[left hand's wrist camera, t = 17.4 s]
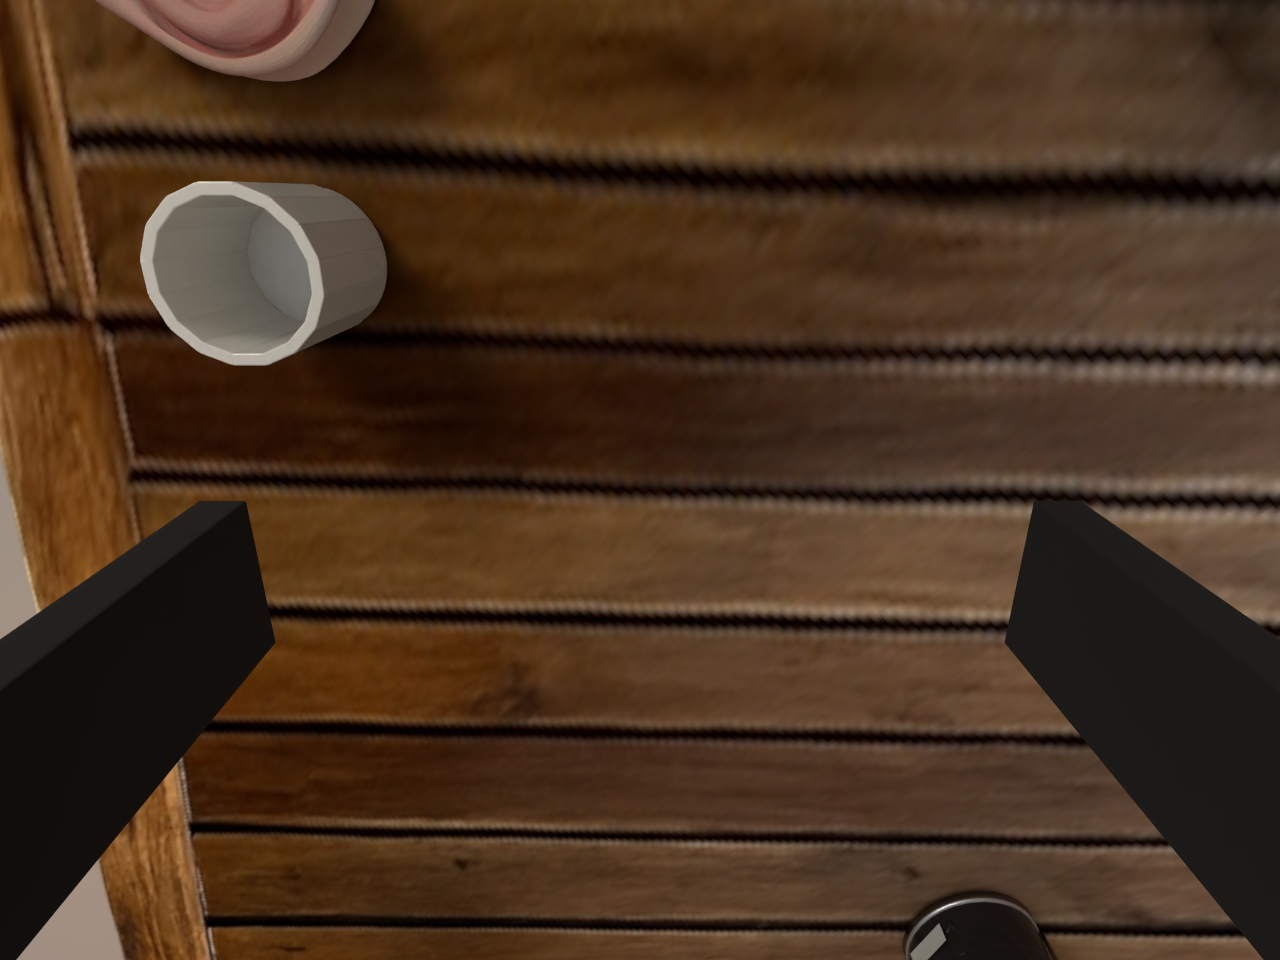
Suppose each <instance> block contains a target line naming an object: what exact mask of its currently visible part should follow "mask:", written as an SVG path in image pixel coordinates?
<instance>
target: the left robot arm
mask: <svg viewBox="0 0 1280 960" xmlns="http://www.w3.org/2000/svg"><path fill="white" fill-rule="evenodd" d="M274 643H275V638H274V634H273V629H272V624H271V619H270V614H269V610H268V605H267V600H266V595H265V591H264V586H263V581H262V576H261V571H260V567H259V562H258V557H257V552H256V547H255V543H254V538H253V533H252V528H251V524H250V519H249V514H248V509H247V504H246V501H199V502H198V503H196V504H195V505H193V506H192V507H191V508H189V509H188V510H186V511H185V512H183V513H182V514H180V515H179V516H178V517H176V518H175V519H173V520H172V521H170V522H169V523H167V524H166V525H165V526H163V527H162V528H160V529H159V530H157V531H156V532H155V533H153V534H152V535H150V536H149V537H147V538H146V539H144V540H143V541H142V542H140V543H139V544H137V545H136V546H134V547H133V548H131V549H130V550H129V551H127V552H126V553H124V554H123V555H121V556H120V557H118V558H117V559H116V560H114V561H113V562H111V563H110V564H108V565H107V566H105V567H104V568H103V569H101V570H100V571H98V572H97V573H95V574H94V575H92V576H91V577H90V578H88V579H87V580H85V581H84V582H82V583H81V584H79V585H78V586H77V587H75V588H74V589H72V590H71V591H69V592H68V593H66V594H65V595H64V596H62V597H61V598H59V599H58V600H56V601H55V602H54V603H52V604H51V605H49V606H48V607H46V608H45V609H43V610H42V611H41V612H39V613H38V614H36V615H35V616H33V617H32V618H30V619H29V620H28V621H26V622H25V623H23V624H22V625H20V626H19V627H17V628H16V629H15V630H13V631H12V632H10V633H9V634H7V635H6V636H4V637H3V638H2V639H0V960H16V959H17V958H18V957H19V956H20V954H21V953H22V952H23V951H24V950H25V948H26V947H27V946H28V945H29V943H30V942H31V941H32V940H33V938H34V937H35V936H36V935H37V934H38V932H39V931H40V930H41V929H42V928H43V926H44V925H45V924H46V923H47V921H48V920H49V919H50V918H51V916H52V915H53V914H54V913H55V912H56V910H57V909H58V908H59V907H60V905H61V904H62V903H63V902H64V901H65V899H66V898H67V897H68V896H69V894H70V893H71V892H72V891H73V890H74V888H75V887H76V886H77V885H78V883H79V882H80V881H81V880H82V879H83V877H84V876H85V875H86V874H87V872H88V871H89V870H90V869H91V868H92V866H93V865H94V864H95V863H96V861H97V860H98V859H99V858H100V857H101V855H102V854H103V853H104V852H105V850H106V849H107V848H108V847H109V845H110V844H111V843H112V842H113V841H114V839H115V838H116V837H117V836H118V834H119V833H120V832H121V831H122V830H123V828H124V827H125V826H126V825H127V823H128V822H129V821H130V820H131V819H132V817H133V816H134V815H135V814H136V812H137V811H138V810H139V809H140V808H141V806H142V805H143V804H144V803H145V801H146V800H147V799H148V798H149V797H150V795H151V794H152V793H153V792H154V790H155V789H156V788H157V787H158V786H159V784H160V783H161V782H162V781H163V779H164V778H165V777H166V776H167V774H168V773H169V772H170V771H171V770H172V768H173V767H174V766H175V765H176V763H177V762H178V761H179V760H180V759H181V757H182V756H183V755H184V754H185V752H186V751H187V750H188V749H189V748H190V746H191V745H192V744H193V743H194V741H195V740H196V739H197V738H198V737H199V735H200V734H201V733H202V732H203V730H204V729H205V728H206V727H207V726H208V724H209V723H210V722H211V721H212V719H213V718H214V717H215V716H216V715H217V713H218V712H219V711H220V710H221V708H222V707H223V706H224V705H225V703H226V702H227V701H228V700H229V699H230V697H231V696H232V695H233V694H234V692H235V691H236V690H237V689H238V688H239V686H240V685H241V684H242V683H243V681H244V680H245V679H246V678H247V677H248V675H249V674H250V673H251V672H252V670H253V669H254V668H255V667H256V666H257V664H258V663H259V662H260V661H261V659H262V658H263V657H264V656H265V655H266V653H267V652H268V651H269V650H270V648H271V647H272V646H273V645H274ZM1005 643H1006V645H1007V646H1008V647H1009V648H1010V650H1011V651H1012V652H1013V653H1014V655H1015V656H1016V657H1017V658H1018V659H1019V661H1020V662H1021V663H1022V664H1023V666H1024V667H1025V668H1026V669H1027V670H1028V672H1029V673H1030V674H1031V675H1032V677H1033V678H1034V679H1035V680H1036V681H1037V683H1038V684H1039V685H1040V686H1041V688H1042V689H1043V690H1044V691H1045V692H1046V694H1047V695H1048V696H1049V697H1050V699H1051V700H1052V701H1053V702H1054V703H1055V705H1056V706H1057V707H1058V708H1059V710H1060V711H1061V712H1062V713H1063V715H1064V716H1065V717H1066V718H1067V719H1068V721H1069V722H1070V723H1071V724H1072V726H1073V727H1074V728H1075V729H1076V730H1077V732H1078V733H1079V734H1080V735H1081V737H1082V738H1083V739H1084V740H1085V741H1086V743H1087V744H1088V745H1089V746H1090V748H1091V749H1092V750H1093V751H1094V752H1095V754H1096V755H1097V756H1098V757H1099V759H1100V760H1101V761H1102V762H1103V763H1104V765H1105V766H1106V767H1107V768H1108V770H1109V771H1110V772H1111V773H1112V774H1113V776H1114V777H1115V778H1116V779H1117V781H1118V782H1119V783H1120V784H1121V786H1122V787H1123V788H1124V789H1125V790H1126V792H1127V793H1128V794H1129V795H1130V797H1131V798H1132V799H1133V800H1134V801H1135V803H1136V804H1137V805H1138V806H1139V808H1140V809H1141V810H1142V811H1143V812H1144V814H1145V815H1146V816H1147V817H1148V819H1149V820H1150V821H1151V822H1152V823H1153V825H1154V826H1155V827H1156V828H1157V830H1158V831H1159V832H1160V833H1161V834H1162V836H1163V837H1164V838H1165V839H1166V841H1167V842H1168V843H1169V844H1170V845H1171V847H1172V848H1173V849H1174V850H1175V852H1176V853H1177V854H1178V855H1179V857H1180V858H1181V859H1182V860H1183V861H1184V863H1185V864H1186V865H1187V866H1188V868H1189V869H1190V870H1191V871H1192V872H1193V874H1194V875H1195V876H1196V877H1197V879H1198V880H1199V881H1200V882H1201V883H1202V885H1203V886H1204V887H1205V888H1206V890H1207V891H1208V892H1209V893H1210V894H1211V896H1212V897H1213V898H1214V899H1215V901H1216V902H1217V903H1218V904H1219V905H1220V907H1221V908H1222V909H1223V910H1224V912H1225V913H1226V914H1227V915H1228V916H1229V918H1230V919H1231V920H1232V921H1233V923H1234V924H1235V925H1236V926H1237V928H1238V929H1239V930H1240V931H1241V932H1242V934H1243V935H1244V936H1245V937H1246V939H1247V940H1248V941H1249V942H1250V943H1251V945H1252V946H1253V947H1254V948H1255V950H1256V951H1257V952H1258V953H1259V954H1260V956H1261V957H1262V958H1263V959H1264V960H1280V639H1278V638H1277V637H1276V636H1274V635H1273V634H1271V633H1270V632H1268V631H1267V630H1265V629H1264V628H1263V627H1261V626H1260V625H1258V624H1257V623H1255V622H1254V621H1252V620H1251V619H1250V618H1248V617H1247V616H1245V615H1244V614H1242V613H1241V612H1239V611H1238V610H1237V609H1235V608H1234V607H1232V606H1231V605H1229V604H1228V603H1226V602H1225V601H1224V600H1222V599H1221V598H1219V597H1218V596H1216V595H1215V594H1214V593H1212V592H1211V591H1209V590H1208V589H1206V588H1205V587H1203V586H1202V585H1201V584H1199V583H1198V582H1196V581H1195V580H1193V579H1192V578H1190V577H1189V576H1188V575H1186V574H1185V573H1183V572H1182V571H1180V570H1179V569H1177V568H1176V567H1175V566H1173V565H1172V564H1170V563H1169V562H1167V561H1166V560H1164V559H1163V558H1162V557H1160V556H1159V555H1157V554H1156V553H1154V552H1153V551H1151V550H1150V549H1149V548H1147V547H1146V546H1144V545H1143V544H1141V543H1140V542H1138V541H1137V540H1136V539H1134V538H1133V537H1131V536H1130V535H1128V534H1127V533H1125V532H1124V531H1123V530H1121V529H1120V528H1118V527H1117V526H1115V525H1114V524H1113V523H1111V522H1110V521H1108V520H1107V519H1105V518H1104V517H1102V516H1101V515H1100V514H1098V513H1097V512H1095V511H1094V510H1092V509H1091V508H1089V507H1088V506H1087V505H1085V504H1084V503H1082V502H1081V501H1034V504H1033V509H1032V514H1031V519H1030V524H1029V528H1028V533H1027V538H1026V543H1025V547H1024V552H1023V557H1022V562H1021V567H1020V571H1019V576H1018V581H1017V586H1016V591H1015V595H1014V600H1013V605H1012V610H1011V614H1010V619H1009V624H1008V629H1007V634H1006V638H1005Z"/></svg>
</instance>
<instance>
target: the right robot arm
mask: <svg viewBox="0 0 1280 960" xmlns="http://www.w3.org/2000/svg"><path fill="white" fill-rule="evenodd" d="M903 951H904V954H905V958H906V960H1058V959H1057V957H1056V955H1055V953H1054V951H1053V950H1052V948H1051V946H1050V944H1049V942H1048V940H1047V939H1046V937H1045V935H1044V934H1043V933H1041V932H1039V930H1038V927H1037V925H1036V923H1035V922H1034V920H1033V918H1032V916H1031V914H1030V913H1029V911H1028V910H1027V909H1026V908H1025V907H1024V906H1023V905H1022V904H1021V903H1019V902H1018V901H1016V900H1014V899H1012V898H1010V897H1008V896H1005V895H1002V894H998V893H993V892H966V893H960V894H956V895H952V896H949V897H946V898H943V899H941V900H939V901H937V902H935V903H933V904H931V905H930V906H928V907H927V908H925V909H924V910H923V911H921V912H920V913H919V914H918V915H917V916H916V917H915V918H914V919H913V920H912V922H911V923H910V925H909V926H908V928H907V930H906V932H905V935H904V940H903Z"/></svg>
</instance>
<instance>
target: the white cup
mask: <svg viewBox="0 0 1280 960" xmlns="http://www.w3.org/2000/svg"><path fill="white" fill-rule="evenodd" d="M140 259H141V260H140V262H141V266H142V270H143V275H144V279H145V283H146V287H147V292H148V295H150V296H149V297H150V299H151V300H152V302H153V303H154V305H155V307H156V308H157V310H158V311H159V313H160V314H161V316H162V317H163V319H164V321H165V322H166V324H167V325H168V327H169V328H170V329H171V330H172V331H173V332H175V333H176V334H177V335H178V336H180V337H181V338H182V339H183V340H184V341H186V342H187V343H188V344H189V345H191V346H192V347H193V348H194V349H195V350H197V351H198V352H200V353H202V354H205V355H207V356H210V357H212V358H215V359H218V360H220V361H223V362H226V363H228V364H231V365H269V364H272V363H274V362H276V361H278V360H281V359H283V358H285V357H288V356H290V355H292V354H294V353H297V352H299V351H301V350H303V349H305V348H307V347H310V346H312V345H314V344H316V343H318V342H321V341H323V340H325V339H327V338H329V337H332V336H334V335H336V334H338V333H340V332H343V331H345V330H347V329H349V328H351V327H354V326H356V325H358V324H359V323H361V322H362V321H363V320H364V319H366V318H367V317H368V316H369V315H370V314H371V313H372V312H373V310H374V309H375V308H376V306H377V305H378V303H379V301H380V299H381V297H382V295H383V292H384V289H385V284H386V279H387V261H386V255H385V250H384V247H383V244H382V241H381V239H380V236H379V234H378V232H377V230H376V229H375V227H374V225H373V224H372V222H371V221H370V220H369V218H368V217H367V216H366V214H365V213H364V212H363V211H362V210H361V209H360V208H359V207H358V206H356V205H355V204H354V203H353V202H352V201H350V200H349V199H347V198H346V197H344V196H343V195H341V194H339V193H337V192H335V191H333V190H330V189H327V188H324V187H320V186H316V185H312V184H288V183H260V182H194V183H192V184H190V185H188V186H186V187H184V188H182V189H180V190H178V191H176V192H174V193H172V194H170V195H168V196H166V198H164V200H163V201H162V202H161V204H160V205H159V207H158V208H157V209H156V211H155V212H154V213H153V215H152V216H151V218H150V219H149V220H148V222H147V223H146V226H145V231H144V237H143V244H142V250H141V256H140Z"/></svg>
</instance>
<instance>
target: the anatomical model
mask: <svg viewBox="0 0 1280 960" xmlns="http://www.w3.org/2000/svg"><path fill="white" fill-rule="evenodd" d="M96 1H97V2H98V3H99V4H100V5H102V6H103V7H105V8H106V9H107V10H109V11H110V12H112V13H114V14H115V15H117V16H119V17H120V18H122V19H124V20H125V21H127V22H128V23H130V24H132V25H133V26H135V27H137V28H138V29H140V30H141V31H143V32H144V33H146V34H147V35H149V36H151V37H152V38H154V39H155V40H157V41H158V42H160V43H161V44H163V45H164V46H166V47H167V48H169V49H171V50H172V51H174V52H176V53H177V54H179V55H181V56H182V57H184V58H186V59H188V60H190V61H192V62H194V63H196V64H198V65H200V66H203V67H205V68H207V69H210V70H213V71H216V72H220V73H223V74H228V75H236V76H245V77H248V78H253V79H258V80H266V81H293V80H299V79H303V78H307V77H310V76H312V75H314V74H316V73H318V72H320V71H321V70H323V69H324V68H325V67H327V66H328V65H329V64H330V63H331V62H333V61H334V60H335V59H336V58H337V57H338V56H339V55H340V54H341V53H342V51H343V50H344V49H345V48H346V47H347V46H348V45H349V44H350V42H351V41H352V40H353V38H354V37H355V36H356V34H357V33H358V31H359V30H360V29H361V27H362V25H363V24H364V22H365V20H366V18H367V17H368V15H369V13H370V11H371V9H372V6H373V4H374V2H375V0H96Z"/></svg>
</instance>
